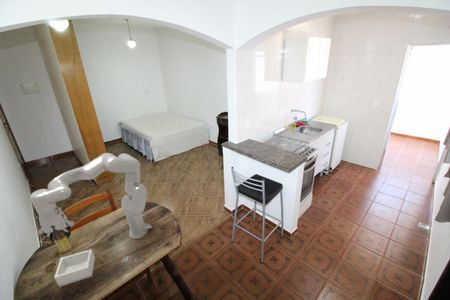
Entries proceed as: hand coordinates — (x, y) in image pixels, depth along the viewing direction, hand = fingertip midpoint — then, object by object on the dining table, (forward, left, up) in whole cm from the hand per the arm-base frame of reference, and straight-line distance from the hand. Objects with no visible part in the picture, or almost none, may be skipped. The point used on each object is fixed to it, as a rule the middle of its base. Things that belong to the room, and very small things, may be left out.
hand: (61, 237), depth 115 cm
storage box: (0, 0, -28) cm, 28 cm away
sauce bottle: (0, 0, -9) cm, 9 cm away
